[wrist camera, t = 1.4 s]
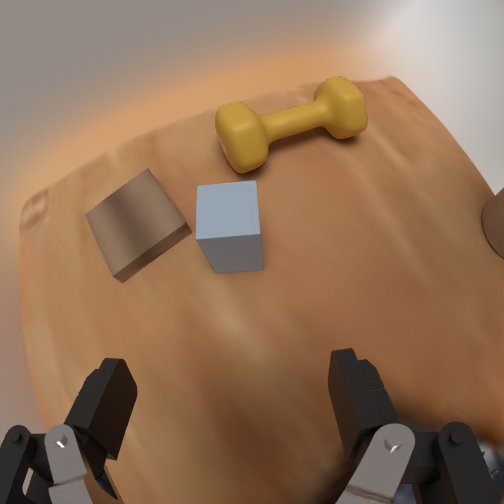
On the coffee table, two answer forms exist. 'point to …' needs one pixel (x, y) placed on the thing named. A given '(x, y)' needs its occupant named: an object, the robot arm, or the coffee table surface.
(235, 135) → the dumbbell
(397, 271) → the coffee table surface
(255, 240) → the pillar
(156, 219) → the slab
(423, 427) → the coffee table surface
